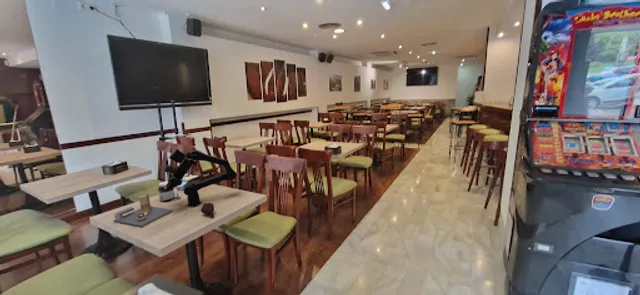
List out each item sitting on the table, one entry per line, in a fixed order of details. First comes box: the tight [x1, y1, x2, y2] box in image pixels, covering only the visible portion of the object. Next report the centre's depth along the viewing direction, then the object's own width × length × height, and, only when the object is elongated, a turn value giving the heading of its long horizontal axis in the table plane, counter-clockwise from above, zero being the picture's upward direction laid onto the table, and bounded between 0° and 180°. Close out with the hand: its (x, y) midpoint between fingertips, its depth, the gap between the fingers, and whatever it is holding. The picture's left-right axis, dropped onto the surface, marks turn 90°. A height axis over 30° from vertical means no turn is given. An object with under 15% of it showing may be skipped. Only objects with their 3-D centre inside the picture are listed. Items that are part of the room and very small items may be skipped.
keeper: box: [113, 206, 145, 220], centre depth 147 cm, size 14×16×4 cm
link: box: [137, 193, 153, 221], centre depth 148 cm, size 16×4×10 cm, turn 17°
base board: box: [113, 206, 174, 229], centre depth 150 cm, size 22×19×1 cm
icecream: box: [200, 202, 215, 219], centre depth 150 cm, size 7×7×15 cm
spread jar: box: [157, 180, 182, 203], centre depth 173 cm, size 12×11×12 cm
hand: (166, 188), depth 155 cm, fingers open, 6 cm apart
